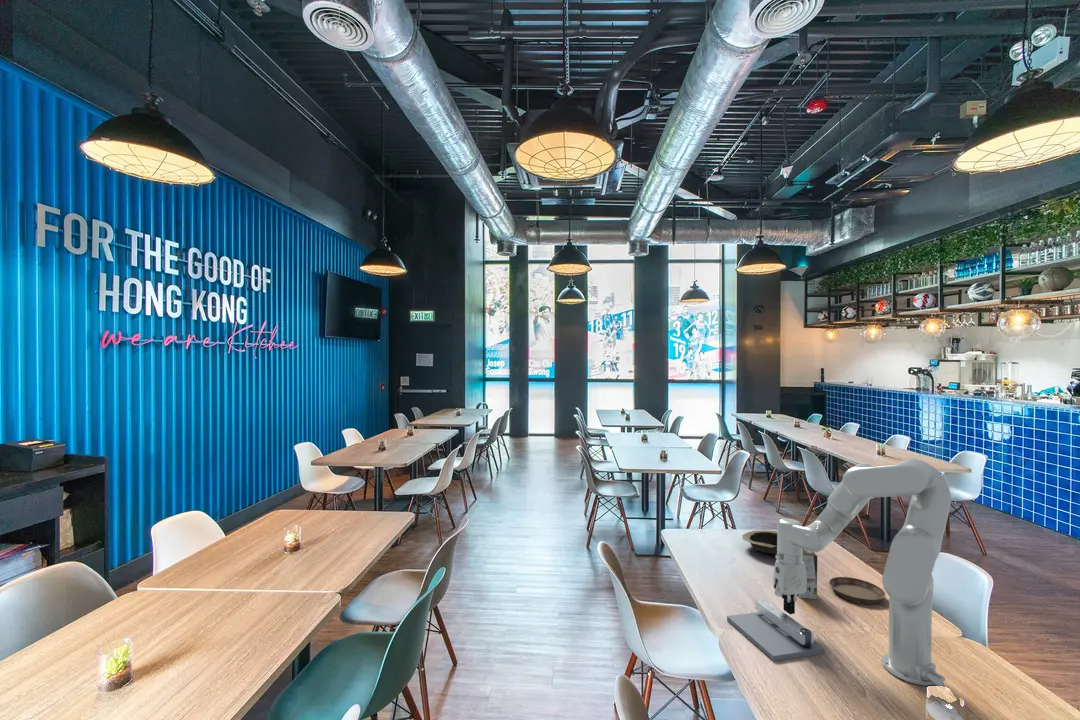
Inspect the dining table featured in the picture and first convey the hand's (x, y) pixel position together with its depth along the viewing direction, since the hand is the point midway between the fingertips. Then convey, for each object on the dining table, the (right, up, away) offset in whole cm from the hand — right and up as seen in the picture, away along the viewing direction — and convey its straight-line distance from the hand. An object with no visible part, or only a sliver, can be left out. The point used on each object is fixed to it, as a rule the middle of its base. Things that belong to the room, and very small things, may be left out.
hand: (789, 611), depth 156 cm
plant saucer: (+37, -5, +21) cm, 43 cm away
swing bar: (-5, -2, -6) cm, 8 cm away
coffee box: (+17, -5, +21) cm, 28 cm away
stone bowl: (+24, -5, +60) cm, 65 cm away
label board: (-9, -4, -7) cm, 12 cm away
